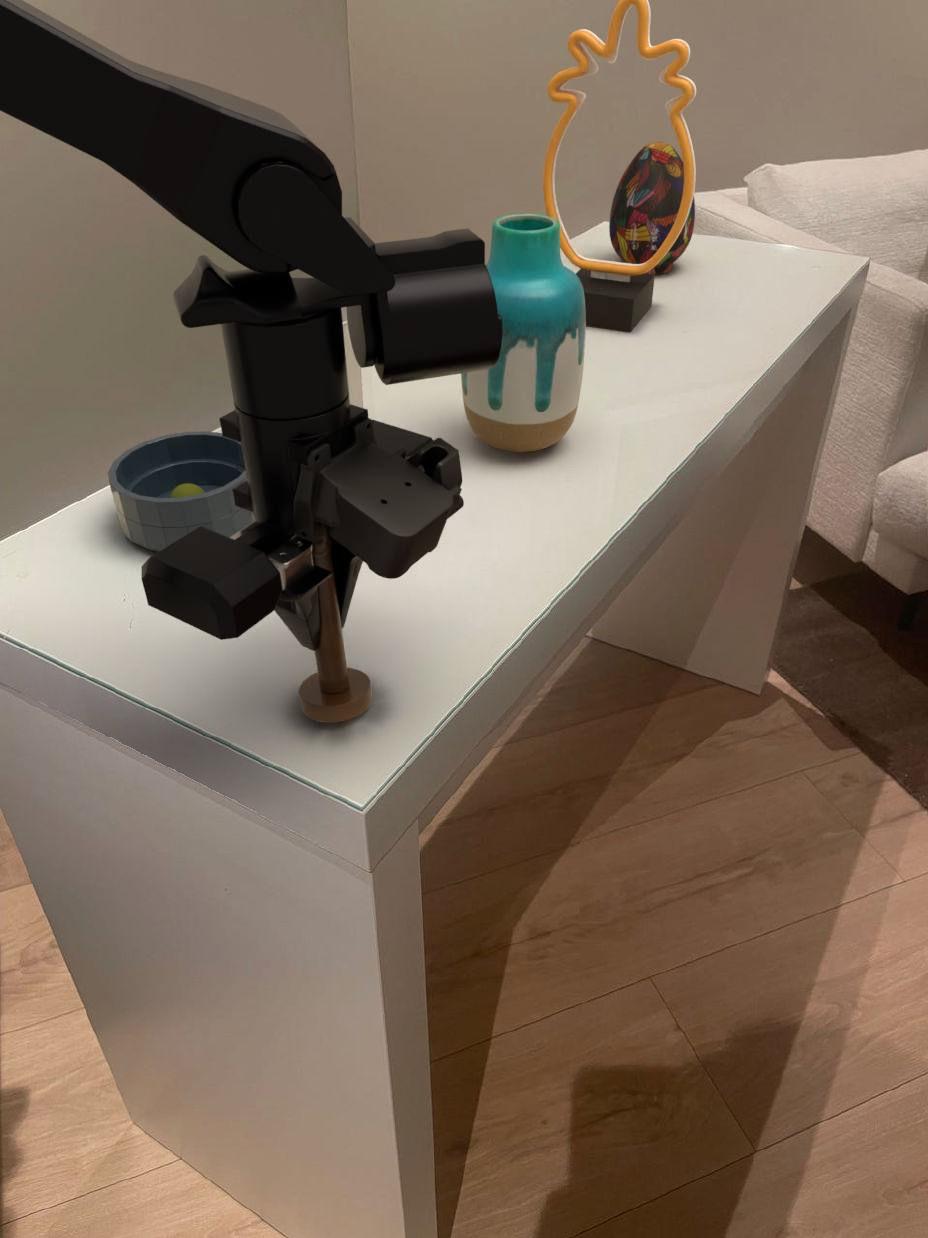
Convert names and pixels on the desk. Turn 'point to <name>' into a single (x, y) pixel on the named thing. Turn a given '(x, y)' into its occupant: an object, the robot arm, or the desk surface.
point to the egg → (650, 208)
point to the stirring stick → (332, 657)
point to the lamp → (623, 287)
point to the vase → (530, 340)
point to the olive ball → (186, 490)
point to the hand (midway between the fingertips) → (322, 637)
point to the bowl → (167, 464)
